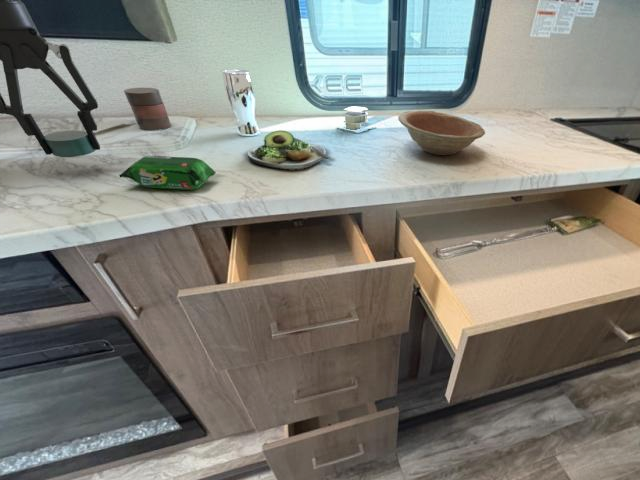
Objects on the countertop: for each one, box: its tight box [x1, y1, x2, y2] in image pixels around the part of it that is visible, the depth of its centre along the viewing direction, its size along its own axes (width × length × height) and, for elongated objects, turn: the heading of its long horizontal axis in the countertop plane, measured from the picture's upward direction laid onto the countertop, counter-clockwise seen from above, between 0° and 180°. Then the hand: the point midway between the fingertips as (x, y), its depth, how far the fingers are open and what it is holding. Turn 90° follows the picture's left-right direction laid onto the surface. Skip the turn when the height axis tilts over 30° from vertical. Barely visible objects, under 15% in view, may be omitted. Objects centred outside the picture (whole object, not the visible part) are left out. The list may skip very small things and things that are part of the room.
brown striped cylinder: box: [123, 87, 172, 131], centre depth 94 cm, size 8×8×9 cm
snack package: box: [118, 155, 216, 191], centre depth 66 cm, size 7×16×5 cm, turn 91°
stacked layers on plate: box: [335, 105, 369, 130], centre depth 105 cm, size 10×9×6 cm
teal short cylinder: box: [43, 129, 96, 158], centre depth 66 cm, size 7×7×3 cm
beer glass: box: [221, 69, 261, 137], centre depth 92 cm, size 7×7×15 cm
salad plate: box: [246, 130, 331, 171], centre depth 82 cm, size 19×18×5 cm
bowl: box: [397, 110, 486, 156], centre depth 92 cm, size 24×24×8 cm
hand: (74, 149), depth 67 cm, fingers closed on teal short cylinder, 7 cm apart
